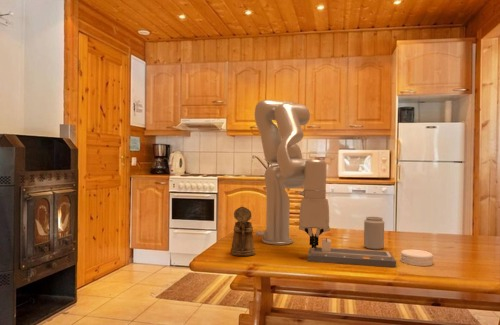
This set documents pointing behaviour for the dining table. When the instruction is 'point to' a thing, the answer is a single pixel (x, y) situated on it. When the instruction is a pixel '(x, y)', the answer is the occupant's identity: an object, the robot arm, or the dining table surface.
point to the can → (374, 233)
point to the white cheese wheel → (417, 257)
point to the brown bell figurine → (242, 234)
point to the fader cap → (326, 245)
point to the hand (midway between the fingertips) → (313, 247)
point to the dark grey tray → (352, 257)
